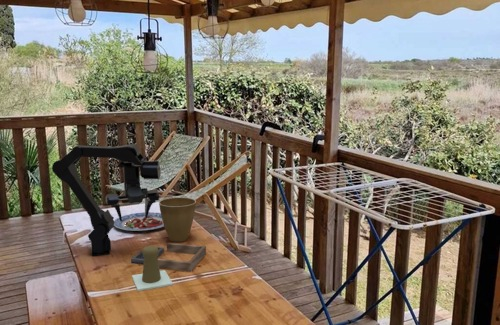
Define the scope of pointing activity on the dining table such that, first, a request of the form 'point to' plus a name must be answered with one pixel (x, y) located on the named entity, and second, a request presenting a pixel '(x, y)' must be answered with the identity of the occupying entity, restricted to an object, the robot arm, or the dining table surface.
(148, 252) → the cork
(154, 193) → the robot arm
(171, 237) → the plant pot
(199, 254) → the frame
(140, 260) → the tray
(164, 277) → the sage pad
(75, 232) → the dining table surface
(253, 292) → the dining table surface
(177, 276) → the dining table surface
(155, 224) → the ceramic plate
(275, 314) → the dining table surface
